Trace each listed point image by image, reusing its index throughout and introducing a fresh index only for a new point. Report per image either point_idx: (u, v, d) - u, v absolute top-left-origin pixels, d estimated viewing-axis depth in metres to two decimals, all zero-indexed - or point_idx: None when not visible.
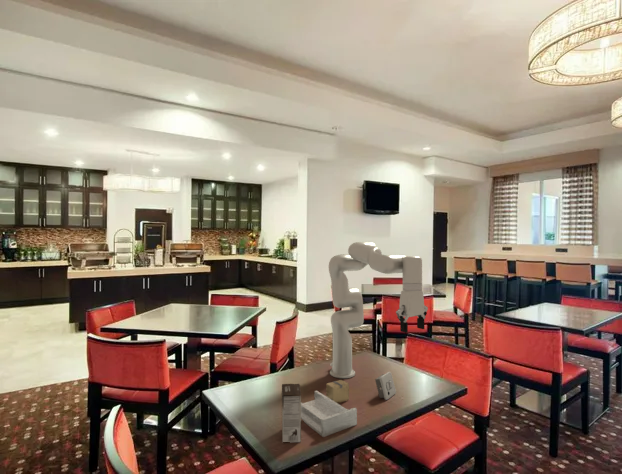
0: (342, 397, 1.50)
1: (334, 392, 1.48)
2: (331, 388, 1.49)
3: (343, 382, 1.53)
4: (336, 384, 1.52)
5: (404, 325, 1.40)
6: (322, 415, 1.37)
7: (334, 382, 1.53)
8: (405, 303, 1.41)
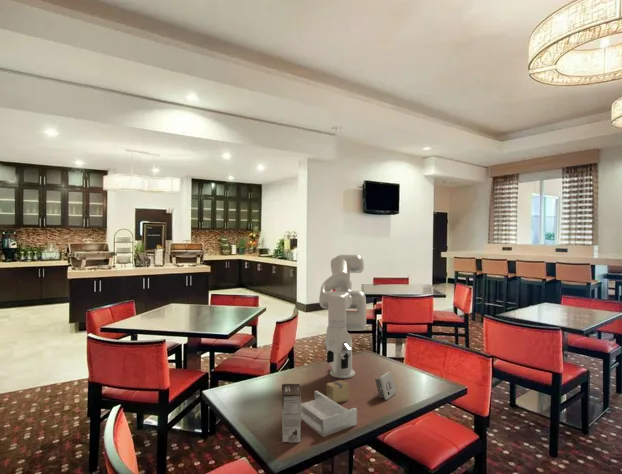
0: (342, 397, 1.50)
1: (334, 392, 1.48)
2: (331, 388, 1.49)
3: (343, 382, 1.53)
4: (336, 384, 1.52)
5: None
6: (322, 415, 1.37)
7: (334, 382, 1.53)
8: (346, 340, 1.48)
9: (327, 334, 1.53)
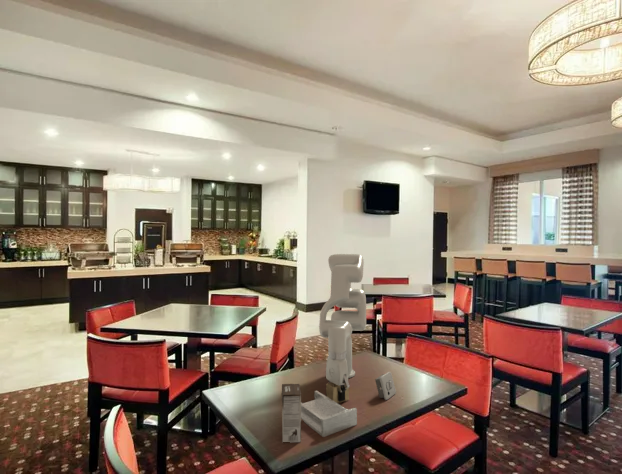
0: None
1: (334, 392, 1.48)
2: (331, 388, 1.49)
3: None
4: None
5: None
6: (322, 415, 1.37)
7: None
8: (346, 371, 1.49)
9: (327, 364, 1.53)
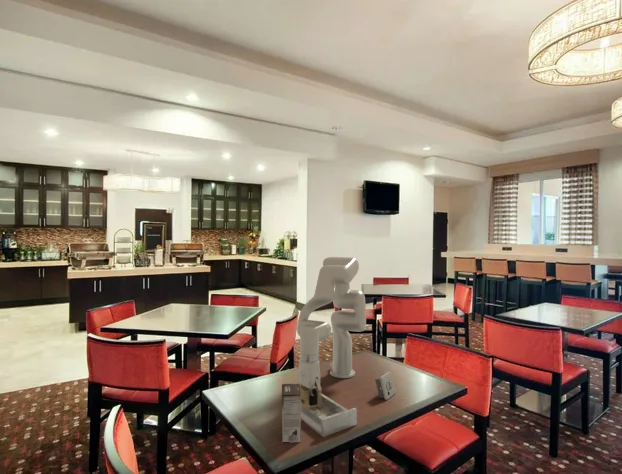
0: None
1: (305, 396, 1.41)
2: (302, 391, 1.41)
3: None
4: None
5: None
6: (322, 415, 1.37)
7: None
8: (318, 374, 1.41)
9: (299, 367, 1.46)
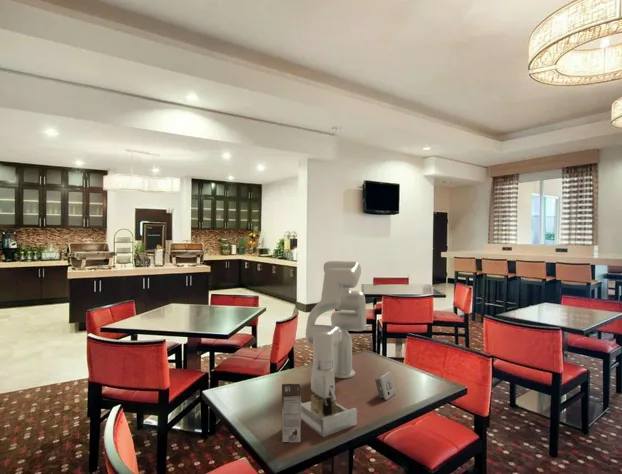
0: None
1: (319, 405, 1.33)
2: (316, 401, 1.33)
3: None
4: None
5: (330, 407, 1.34)
6: None
7: None
8: (332, 383, 1.33)
9: (312, 374, 1.38)
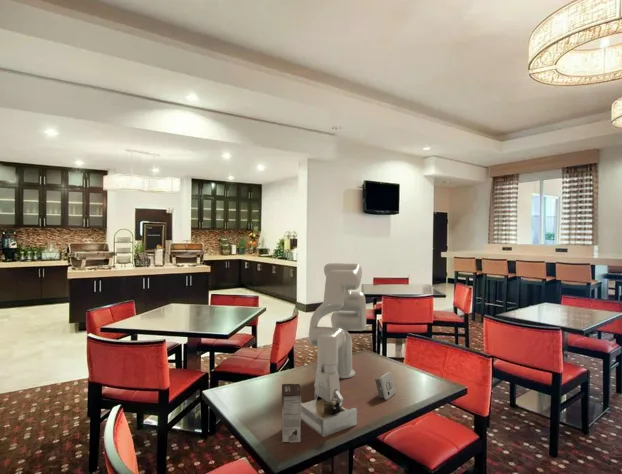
0: None
1: (325, 411, 1.30)
2: (321, 406, 1.31)
3: None
4: None
5: (338, 410, 1.30)
6: None
7: None
8: (337, 386, 1.30)
9: (316, 378, 1.35)
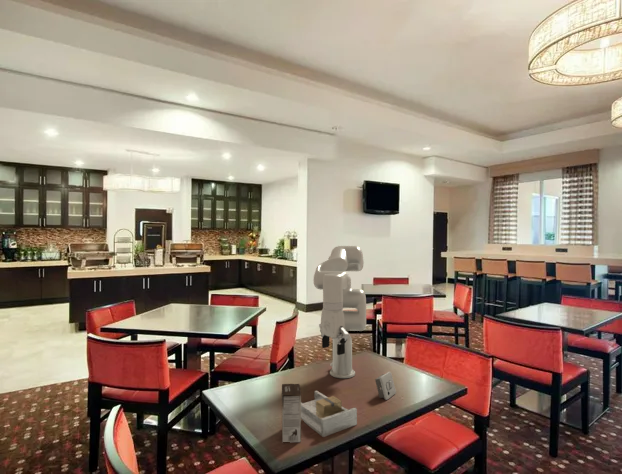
0: None
1: (325, 411, 1.30)
2: (321, 406, 1.31)
3: (335, 399, 1.35)
4: (327, 401, 1.33)
5: None
6: None
7: (325, 399, 1.35)
8: (342, 323, 1.35)
9: (322, 317, 1.40)
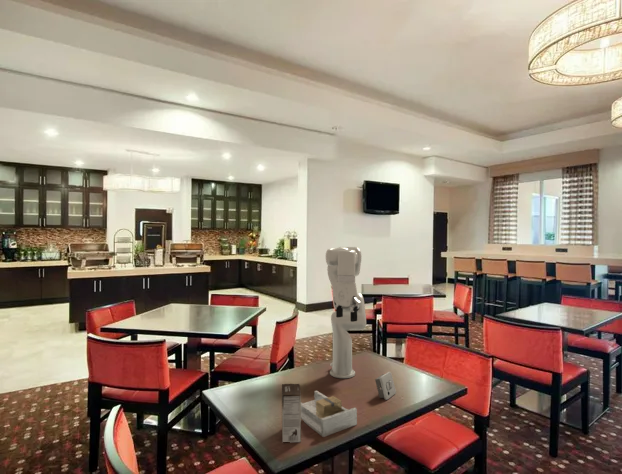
0: None
1: (325, 411, 1.30)
2: (321, 406, 1.31)
3: (335, 399, 1.35)
4: (327, 401, 1.33)
5: None
6: None
7: (325, 399, 1.35)
8: (355, 294, 1.51)
9: (336, 289, 1.56)
